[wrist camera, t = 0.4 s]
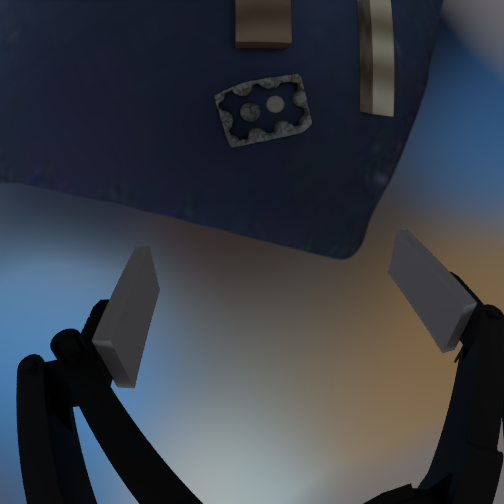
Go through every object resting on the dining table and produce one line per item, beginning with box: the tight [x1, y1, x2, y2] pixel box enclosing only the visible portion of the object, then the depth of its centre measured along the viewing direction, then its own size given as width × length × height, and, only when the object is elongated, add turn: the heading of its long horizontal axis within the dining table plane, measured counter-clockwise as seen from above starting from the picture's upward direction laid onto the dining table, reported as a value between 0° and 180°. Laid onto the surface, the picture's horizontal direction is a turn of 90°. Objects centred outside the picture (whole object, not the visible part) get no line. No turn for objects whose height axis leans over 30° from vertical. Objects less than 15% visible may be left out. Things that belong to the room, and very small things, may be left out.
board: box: [357, 0, 394, 116], centre depth 28 cm, size 24×3×4 cm, turn 2°
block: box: [235, 0, 292, 49], centre depth 27 cm, size 8×6×5 cm
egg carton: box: [214, 74, 312, 147], centre depth 33 cm, size 11×8×4 cm
